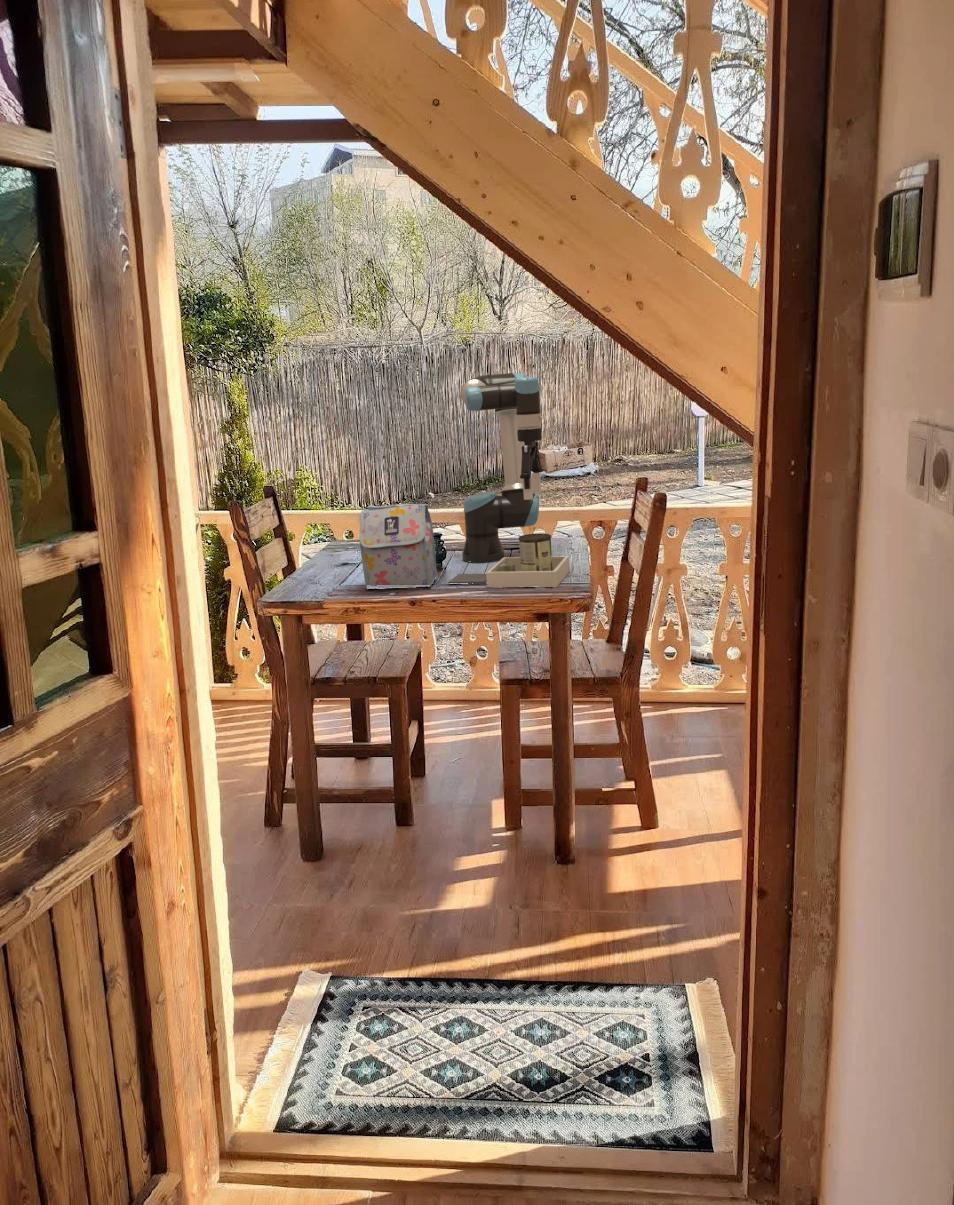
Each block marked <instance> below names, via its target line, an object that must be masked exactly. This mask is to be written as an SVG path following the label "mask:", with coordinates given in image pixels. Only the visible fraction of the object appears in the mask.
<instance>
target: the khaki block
mask: <svg viewBox="0 0 954 1205" xmlns="http://www.w3.org/2000/svg"><path fill="white" fill-rule="evenodd" d="M500 572H515V563H508V564H502V565H501V566H500Z"/></svg>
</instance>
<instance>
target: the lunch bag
mask: <svg viewBox="0 0 954 1205" xmlns="http://www.w3.org/2000/svg"><path fill="white" fill-rule="evenodd" d="M359 547H360V548H359V549H360V555H361V562H362V563H361V564H362V570H363V571H362V572H363V576H364V577H363V579H364V584H365V586H366V585H371V586H373V585H374V586H377V585H431V584H432V583H433V582H434V578H439V576H438V571H437V560H436V547H435V539H434V527H433V521H432V518H431V514H430V510H429V506H428V504H426V503H416V504H415V503H409V504H407V503H404V504H403V503H402V504H401V503H400V504H399V503H398V504H394V505H382V506H381V505H380V506H377V505H374V504H373V505H369V506H368V508H366V509H362V510H360V513H359ZM434 583H435V582H434ZM434 583H433V584H434Z"/></svg>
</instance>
